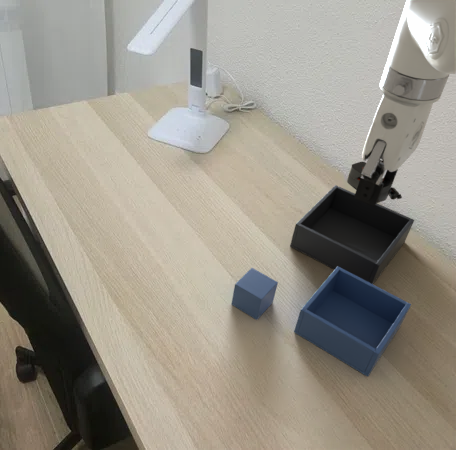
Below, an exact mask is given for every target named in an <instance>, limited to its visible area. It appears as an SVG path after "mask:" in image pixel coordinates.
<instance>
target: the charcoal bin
mask: <svg viewBox="0 0 456 450" xmlns="http://www.w3.org/2000/svg"><path fill="white" fill-rule="evenodd" d="M355 193H356V192H352V191H350V190H348V189H346V188H344V187H341V186H338V185H336V184H335V185H334V186H332V188H331V189H330V190H328V191H327V192H326V194H324V195H323V196H322V197H321V199H319V200H318V201H317V202H316V203H315V205H313V206H312V207H311V208H310V209H309V210H308V212H307V213H305V214H304V215H303V216H302V217H301V218H300V219H299V220H298V221H297V222H296V223H295V225H294V230H293V233H292V237H291V240H290V244H289V247H290V248H292V249H294V250H296V251H298V252H300V253H302V254H304V255H306V256H308V257H309V258H312V259H313V260H316V261H317V262H319V263H321V264H323V265H325V266H326V267H328V268H330V269H332V270H333V271H334V270H335V269H336V268H337V266H338V267H340V268H342V269H344V270H346V271H348V272H350V273H352V274H354V275H356V276H358V277H360V278H362V279H363V280H365V281H367V282H369V283H371V284H373V285H375V282H376V281H377V280H378V279H379V277H380V276H381V275H382V273H383V271H384V270H385V269H386V268H387V266H388V265H389V264H390V263H391V261H392V260H393V259H394V257H395V256H396V254H397V253H398V252H399V250H400V249H401V248H402V247H403V245H404V244H405V242H406V240H407V238H408V236H409V233H410V232H411V230H412V226H413V225H414V222H415V219H413V218H411V217H409V216H408V215H404V214H402V213H400V212H398V211H395V210H393V209H391V208H389V207H386V206H384V205H382V204H379V203H377V204H376V205H375V206H371V205H368V204H366V203H364V202H362V201H359V200H357V199H355V197H354V196H355Z"/></svg>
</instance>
